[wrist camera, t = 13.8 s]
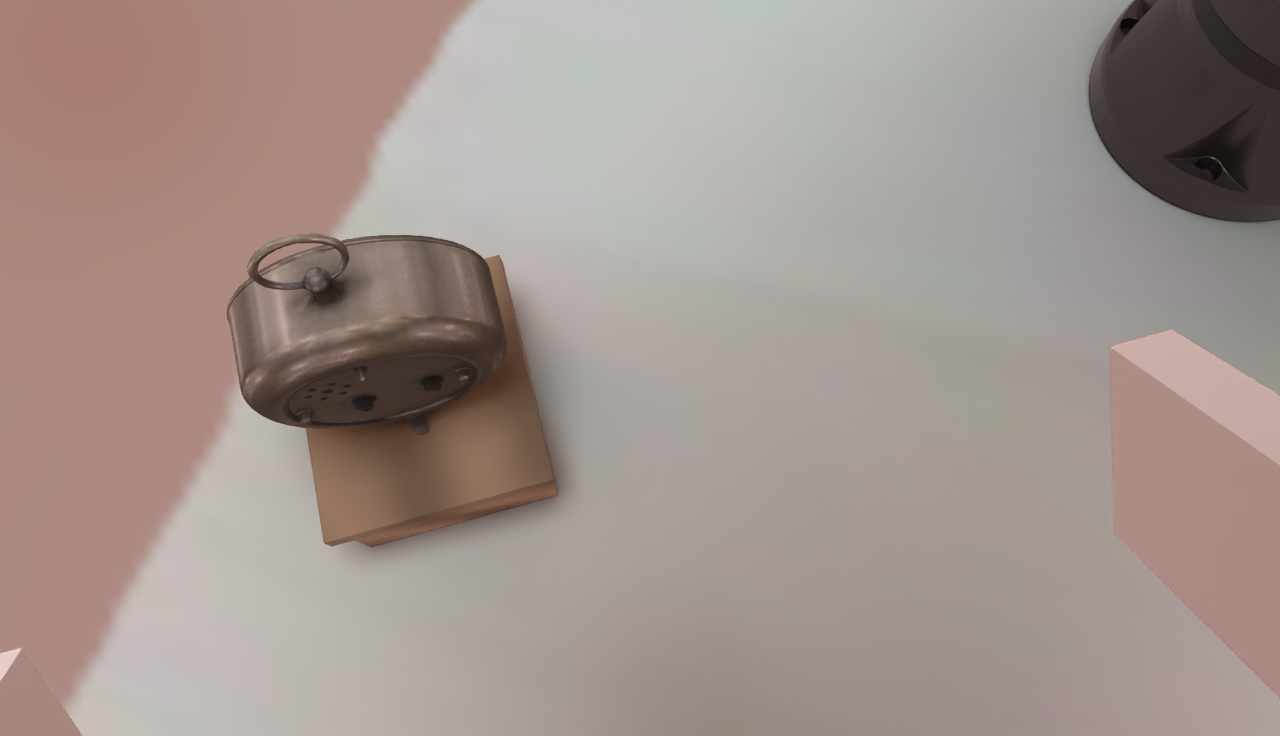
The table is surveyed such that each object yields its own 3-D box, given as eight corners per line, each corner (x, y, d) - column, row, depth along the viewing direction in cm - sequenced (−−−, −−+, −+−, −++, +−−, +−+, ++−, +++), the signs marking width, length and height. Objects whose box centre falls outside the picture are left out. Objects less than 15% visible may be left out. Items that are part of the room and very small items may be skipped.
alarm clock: (514, 312, 48) (422, 131, 33) (539, 412, 46) (454, 270, 31) (300, 371, 48) (106, 217, 33) (316, 474, 46) (120, 363, 31)
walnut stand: (518, 296, 54) (498, 254, 49) (569, 501, 50) (552, 479, 45) (328, 349, 54) (287, 312, 49) (363, 559, 50) (323, 543, 45)
